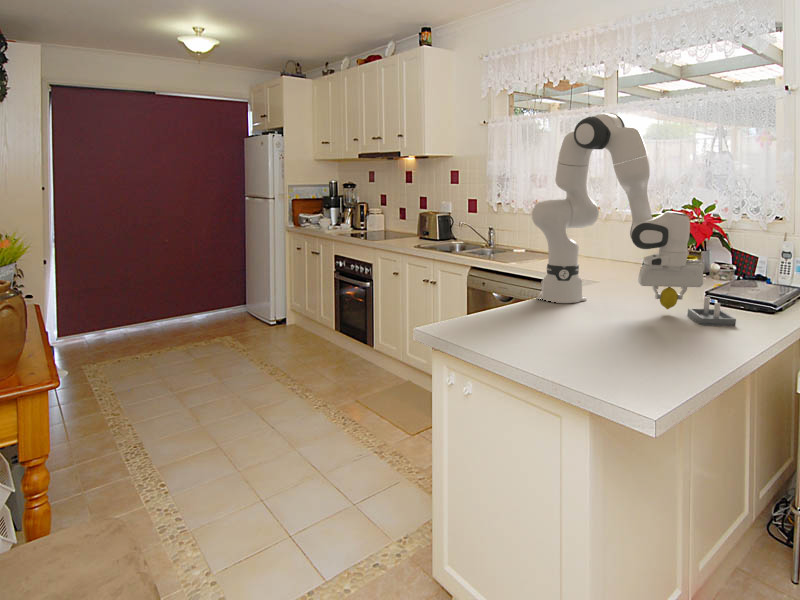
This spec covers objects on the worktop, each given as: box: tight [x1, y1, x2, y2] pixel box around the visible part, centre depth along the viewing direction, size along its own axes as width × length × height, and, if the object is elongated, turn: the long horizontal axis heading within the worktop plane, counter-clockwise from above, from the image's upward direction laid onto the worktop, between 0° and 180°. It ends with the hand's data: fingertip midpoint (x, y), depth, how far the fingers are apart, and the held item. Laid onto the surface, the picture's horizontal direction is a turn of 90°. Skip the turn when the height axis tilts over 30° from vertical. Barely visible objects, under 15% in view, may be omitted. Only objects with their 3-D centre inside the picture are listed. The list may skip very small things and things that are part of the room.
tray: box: [686, 296, 737, 327], centre depth 181 cm, size 14×10×7 cm
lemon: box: [659, 287, 678, 310], centre depth 191 cm, size 6×6×8 cm
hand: (668, 299), depth 191 cm, fingers closed on lemon, 6 cm apart
